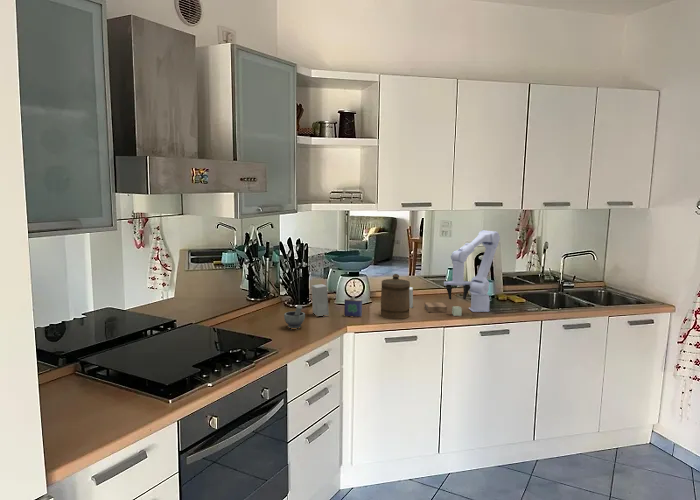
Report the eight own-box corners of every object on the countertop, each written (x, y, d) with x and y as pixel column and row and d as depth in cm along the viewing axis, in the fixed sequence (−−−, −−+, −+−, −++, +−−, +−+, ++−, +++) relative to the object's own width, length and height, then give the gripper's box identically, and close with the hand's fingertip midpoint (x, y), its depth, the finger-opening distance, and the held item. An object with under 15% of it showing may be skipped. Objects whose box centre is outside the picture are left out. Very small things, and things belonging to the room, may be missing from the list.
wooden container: (398, 311, 291) (399, 270, 288) (414, 317, 278) (416, 275, 275) (375, 314, 284) (376, 272, 281) (390, 320, 271) (391, 277, 268)
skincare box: (328, 316, 277) (329, 286, 275) (315, 317, 275) (315, 287, 273) (324, 312, 285) (324, 283, 283) (311, 313, 283) (311, 284, 281)
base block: (442, 307, 299) (442, 302, 298) (446, 312, 289) (447, 306, 289) (424, 307, 298) (424, 302, 298) (428, 312, 288) (428, 306, 288)
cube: (459, 313, 286) (459, 306, 286) (461, 315, 282) (461, 308, 282) (451, 313, 286) (452, 306, 286) (453, 315, 282) (454, 308, 282)
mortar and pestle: (281, 326, 258) (281, 302, 256) (299, 324, 263) (299, 299, 261) (291, 332, 248) (291, 307, 247) (309, 329, 253) (309, 304, 252)
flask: (362, 316, 279) (362, 296, 277) (361, 317, 276) (361, 297, 275) (344, 315, 281) (345, 295, 279) (343, 316, 278) (343, 296, 276)
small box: (412, 305, 304) (413, 287, 302) (412, 307, 298) (413, 289, 297) (398, 305, 305) (398, 286, 303) (398, 307, 299) (398, 288, 298)
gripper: (446, 274, 277) (445, 300, 279) (474, 274, 278) (473, 300, 280) (443, 272, 284) (442, 297, 286) (470, 272, 285) (469, 297, 287)
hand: (457, 299), depth 283 cm, fingers open, 7 cm apart
